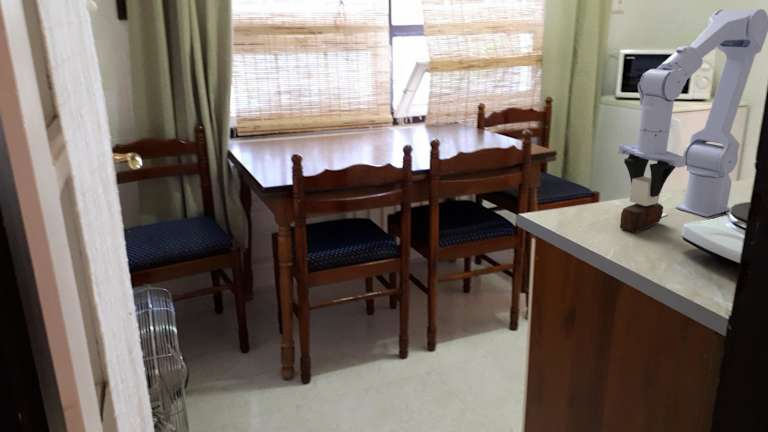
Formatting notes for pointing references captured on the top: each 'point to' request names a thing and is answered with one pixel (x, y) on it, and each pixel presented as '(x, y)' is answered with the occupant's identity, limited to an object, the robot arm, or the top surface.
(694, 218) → the top surface
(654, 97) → the robot arm
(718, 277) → the top surface
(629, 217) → the brick
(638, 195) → the cream block
